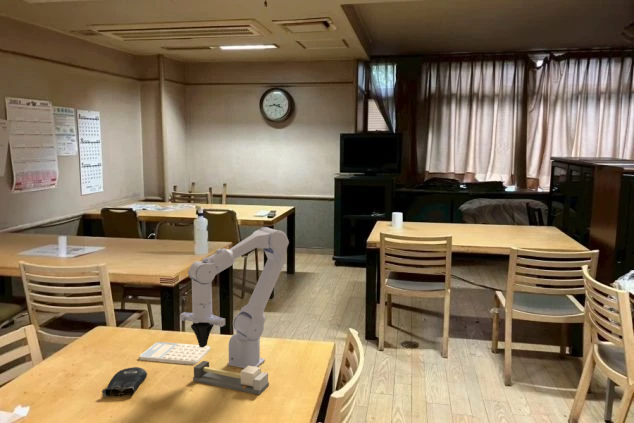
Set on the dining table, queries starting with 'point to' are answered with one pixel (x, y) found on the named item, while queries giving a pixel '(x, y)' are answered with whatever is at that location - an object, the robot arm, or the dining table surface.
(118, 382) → the electronic device
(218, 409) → the dining table surface
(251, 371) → the beige sliding bead
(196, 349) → the calculator
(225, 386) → the cord board
